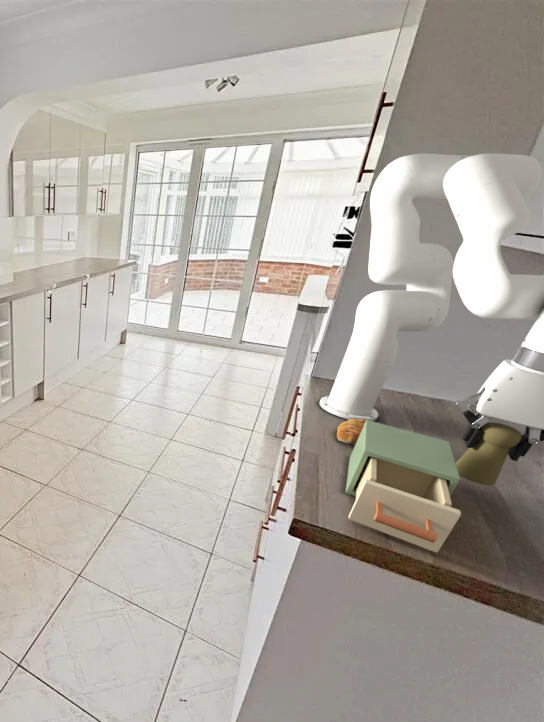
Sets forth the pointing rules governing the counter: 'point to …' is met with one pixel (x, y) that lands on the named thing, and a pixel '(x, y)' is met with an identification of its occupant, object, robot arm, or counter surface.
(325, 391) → the counter surface
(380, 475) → the drawer
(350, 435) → the pastry
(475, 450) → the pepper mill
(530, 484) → the counter surface
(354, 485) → the cabinet
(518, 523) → the counter surface
